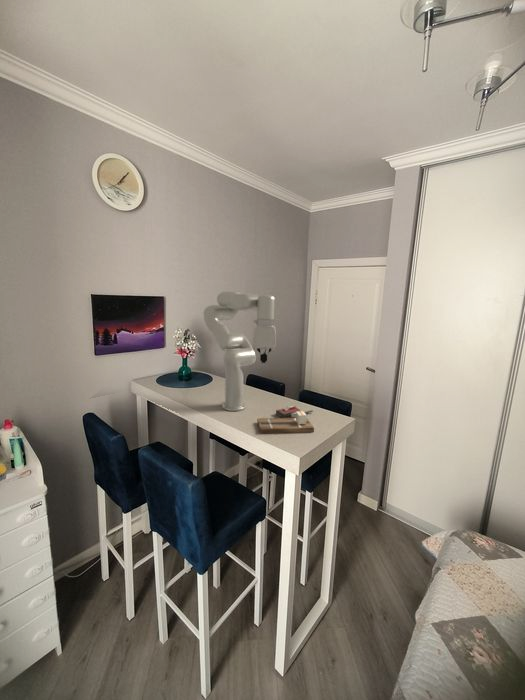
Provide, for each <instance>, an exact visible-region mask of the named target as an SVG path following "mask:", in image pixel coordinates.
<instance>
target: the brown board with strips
mask: <svg viewBox="0 0 525 700" xmlns="http://www.w3.org/2000/svg"><path fill="white" fill-rule="evenodd" d="M256 420H257V421H256V423H257V427H258V429H259V432H260V434H261V435H263V434H289V433H290V434H292V433H294V434H295V433H296V434H297V433H300V434H301V433H314V432H315V428H314V426H313V424H312V423H311V421H310V420H309V419H308V418H307V419H306V424H298V423H297V421H296V418H295V417H289V418H280V417H274V418H273V417H271V418H270V417H269V418H268V417H267V418H260V417H259V418H257V419H256Z"/></svg>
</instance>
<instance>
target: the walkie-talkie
mask: <svg viewBox="0 0 525 700" xmlns="http://www.w3.org/2000/svg"><path fill="white" fill-rule="evenodd" d="M296 411H301V409H299V408H297V406H296V405H288V406H286V407H282V408H280V409H275V416H276V417H277V418H296ZM304 412H305V414H306V415H307V414H309V413H312V412H314V411H313V409H310V410H307V411H304Z"/></svg>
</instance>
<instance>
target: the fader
mask: <svg viewBox="0 0 525 700" xmlns="http://www.w3.org/2000/svg"><path fill="white" fill-rule="evenodd" d="M305 412H306V411H302V410H300V411H296V421H297V423H298V424H306V419H308V417H307V414H305Z"/></svg>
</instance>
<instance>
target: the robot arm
mask: <svg viewBox="0 0 525 700" xmlns="http://www.w3.org/2000/svg"><path fill="white" fill-rule="evenodd" d="M275 299H276V298H275V297H274V295H268V294H261V293H259V294H256V293H242V292H240V291H222V292H220V293H218V295H217V297H216V302H217V304H213V305H208V306H206V307H205V308H204V310H203V320H204V323H205V325H206V327H207V329H209V331H210V332H211V333H212V335H213V337H214V339H215V341H216V342H217V345H218V346H219V348H220V349H221V351H223V352H224V354H223V363H224V370H225V371H224V373H225V376H224V377H225V383H224V385H225V386H224V402H223V403H222V404H221V408H222V409H223V410H225V411H229V412H239V411H243V410H244V409H246V407H247V406H246V405H247V404H245V402H243V401H244V373H243V371H242V369H241V368H242V367H245V366H251V365H253V364H255V362H256V360H257V354H256V352H258V353H259V355H260V357H259V360H260V362H261V363H262V364H266V363H267V361H268V355H269V354H270V352H272V351H276V350H277V348H276V346H277V331H276V326H275V325H274V319H275ZM240 311H243V312H245V311H247V312H248V311H249V312H250V311H254V312H255V311H256V312H257V314H256V318H255V319H254V320H253V324H256V325H255V326H254V330H253V338H252V339H253V340H252V344H251V343H250V341H249V339H248V338H247V336H245V334H243V333H241V332H239V333H238V332H235V333H234V332H230V331H229V329H228V327H227V325H225V324H224V323H223V322H221V321H232V320H234V318H235V317H236V316H237V314H238V313H239V312H240ZM252 345H253V346H252ZM255 351H256V352H255Z"/></svg>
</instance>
